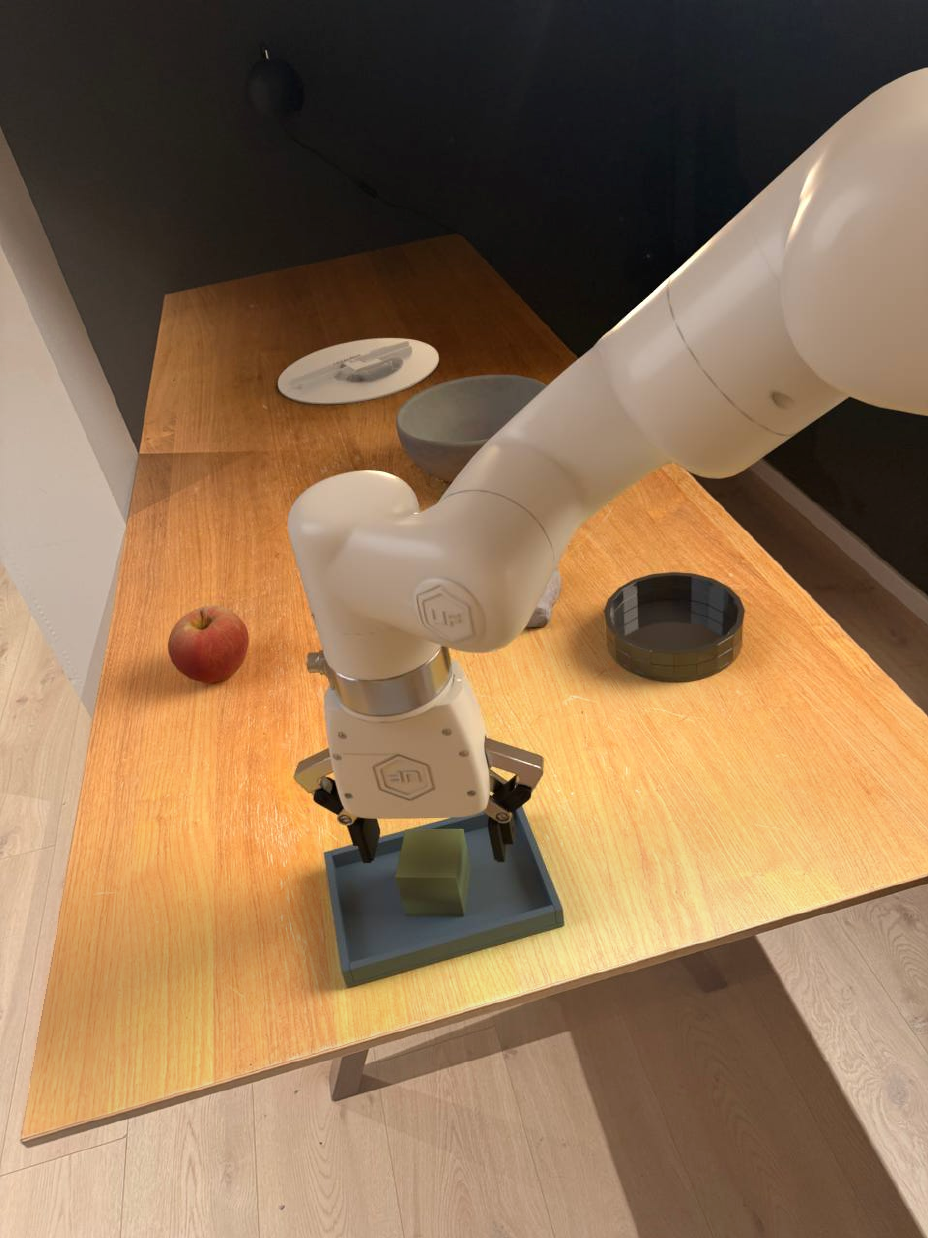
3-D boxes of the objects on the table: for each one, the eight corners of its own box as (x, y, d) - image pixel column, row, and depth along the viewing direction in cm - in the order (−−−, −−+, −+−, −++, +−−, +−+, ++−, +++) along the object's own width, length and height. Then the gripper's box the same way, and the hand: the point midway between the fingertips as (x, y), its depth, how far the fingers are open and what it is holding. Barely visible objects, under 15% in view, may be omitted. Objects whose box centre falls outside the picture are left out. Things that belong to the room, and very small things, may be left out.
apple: (273, 655, 100) (253, 593, 96) (227, 703, 95) (203, 640, 90) (214, 641, 104) (192, 581, 99) (166, 687, 98) (141, 625, 94)
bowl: (438, 435, 139) (428, 369, 133) (574, 441, 131) (569, 372, 126) (382, 504, 124) (367, 434, 118) (531, 515, 117) (523, 441, 111)
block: (471, 867, 74) (463, 828, 71) (464, 916, 70) (456, 877, 68) (414, 867, 75) (405, 828, 72) (405, 915, 71) (395, 877, 68)
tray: (521, 815, 78) (519, 798, 77) (564, 926, 69) (563, 908, 68) (328, 868, 76) (323, 852, 75) (347, 988, 67) (341, 972, 66)
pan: (764, 621, 94) (766, 592, 92) (706, 699, 86) (707, 669, 84) (645, 587, 102) (644, 560, 100) (581, 656, 94) (579, 628, 92)
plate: (394, 327, 179) (393, 321, 178) (468, 367, 158) (467, 360, 157) (255, 372, 169) (253, 365, 169) (315, 420, 149) (313, 413, 148)
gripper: (242, 710, 58) (310, 890, 68) (524, 700, 55) (553, 889, 65) (275, 635, 64) (334, 810, 74) (532, 622, 61) (557, 806, 71)
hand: (436, 847), depth 69 cm, fingers open, 9 cm apart
